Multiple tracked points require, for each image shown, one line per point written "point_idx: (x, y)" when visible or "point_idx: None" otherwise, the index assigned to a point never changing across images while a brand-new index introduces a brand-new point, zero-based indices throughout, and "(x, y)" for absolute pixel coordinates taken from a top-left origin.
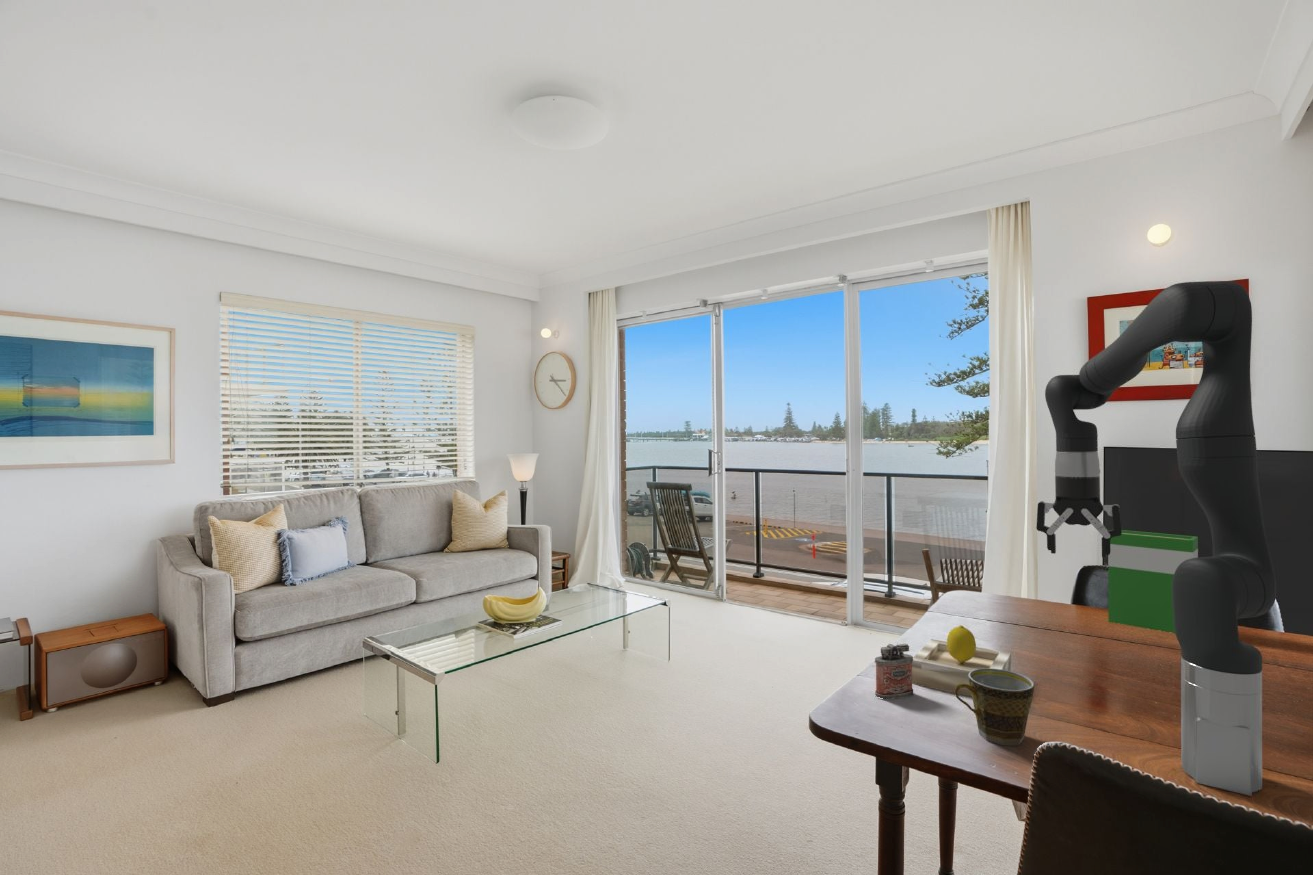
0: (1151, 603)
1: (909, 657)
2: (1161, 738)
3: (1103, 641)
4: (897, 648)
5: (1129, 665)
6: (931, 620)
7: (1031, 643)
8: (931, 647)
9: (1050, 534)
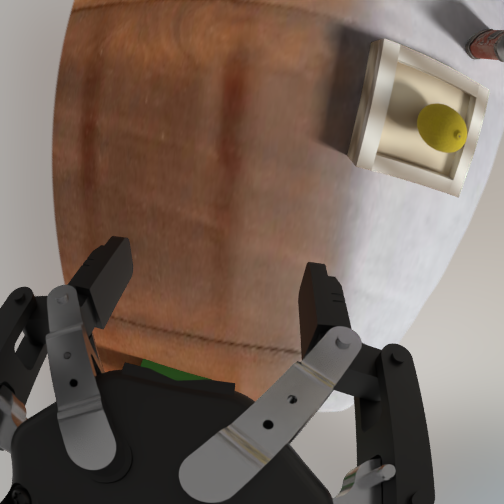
0: None
1: (500, 46)
2: (170, 14)
3: (216, 330)
4: None
5: (188, 263)
6: (404, 333)
7: None
8: (465, 155)
9: (340, 328)
